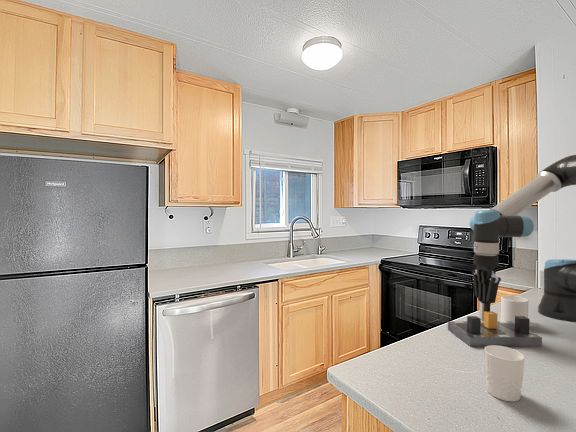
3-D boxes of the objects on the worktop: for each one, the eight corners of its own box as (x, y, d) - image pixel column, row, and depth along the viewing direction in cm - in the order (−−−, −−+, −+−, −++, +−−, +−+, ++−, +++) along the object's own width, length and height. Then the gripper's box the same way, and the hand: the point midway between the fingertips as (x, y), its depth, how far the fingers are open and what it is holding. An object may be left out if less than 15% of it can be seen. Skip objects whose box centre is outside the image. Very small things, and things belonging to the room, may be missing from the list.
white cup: (476, 384, 79) (477, 345, 79) (505, 383, 80) (506, 344, 79) (500, 404, 71) (500, 361, 71) (532, 402, 72) (533, 359, 72)
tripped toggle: (492, 325, 109) (492, 311, 109) (497, 328, 107) (497, 313, 107) (483, 325, 109) (484, 311, 109) (488, 328, 107) (488, 313, 107)
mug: (509, 318, 126) (510, 292, 126) (535, 324, 120) (535, 297, 119) (496, 324, 119) (497, 297, 119) (522, 331, 113) (523, 303, 112)
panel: (510, 329, 115) (511, 307, 114) (541, 346, 101) (542, 321, 100) (447, 329, 115) (448, 307, 114) (469, 346, 101) (470, 321, 100)
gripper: (464, 251, 117) (463, 314, 118) (486, 257, 104) (485, 327, 105) (485, 251, 117) (483, 314, 118) (509, 257, 104) (507, 327, 105)
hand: (484, 320), depth 111 cm, fingers closed
